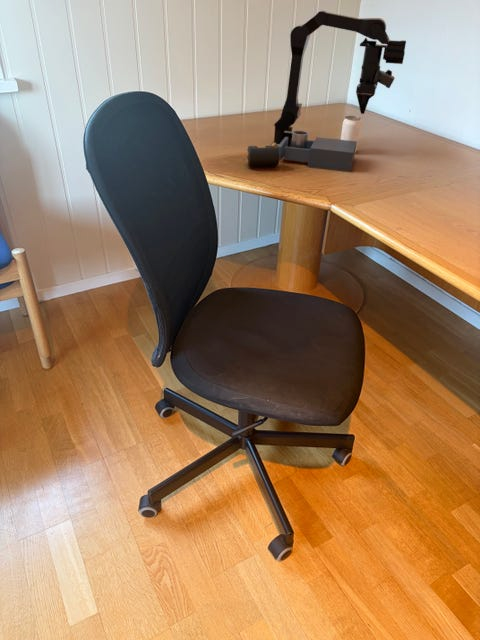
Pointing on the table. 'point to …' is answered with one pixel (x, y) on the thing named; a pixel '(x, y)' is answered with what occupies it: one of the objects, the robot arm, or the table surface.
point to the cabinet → (332, 154)
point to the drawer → (293, 151)
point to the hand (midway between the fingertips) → (363, 110)
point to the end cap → (263, 157)
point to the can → (351, 129)
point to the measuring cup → (299, 139)
